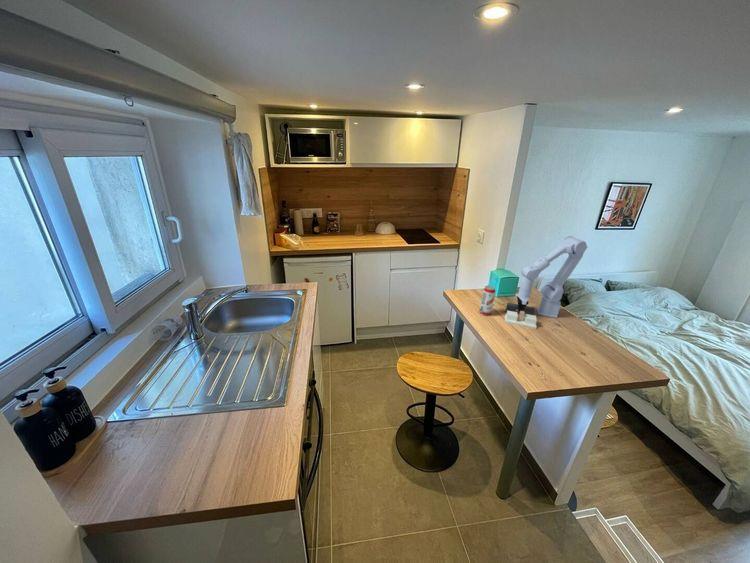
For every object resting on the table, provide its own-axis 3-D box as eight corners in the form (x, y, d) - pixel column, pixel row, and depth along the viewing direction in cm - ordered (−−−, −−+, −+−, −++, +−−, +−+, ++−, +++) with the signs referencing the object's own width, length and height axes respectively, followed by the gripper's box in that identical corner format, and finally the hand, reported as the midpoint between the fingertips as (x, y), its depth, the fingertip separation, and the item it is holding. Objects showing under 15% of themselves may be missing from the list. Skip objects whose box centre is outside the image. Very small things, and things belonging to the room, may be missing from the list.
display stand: (534, 320, 155) (537, 311, 153) (536, 328, 149) (539, 318, 146) (504, 315, 160) (507, 305, 158) (505, 322, 154) (507, 312, 151)
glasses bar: (532, 315, 161) (534, 307, 159) (532, 317, 159) (535, 309, 157) (505, 310, 165) (507, 302, 163) (505, 312, 163) (507, 304, 161)
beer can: (476, 311, 163) (481, 286, 157) (485, 309, 166) (490, 284, 159) (484, 316, 158) (490, 291, 152) (493, 314, 161) (498, 289, 154)
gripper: (517, 281, 163) (511, 302, 169) (518, 292, 151) (512, 314, 156) (530, 284, 160) (524, 305, 166) (533, 295, 148) (526, 317, 154)
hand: (519, 310), depth 161 cm, fingers closed on glasses bar, 2 cm apart
